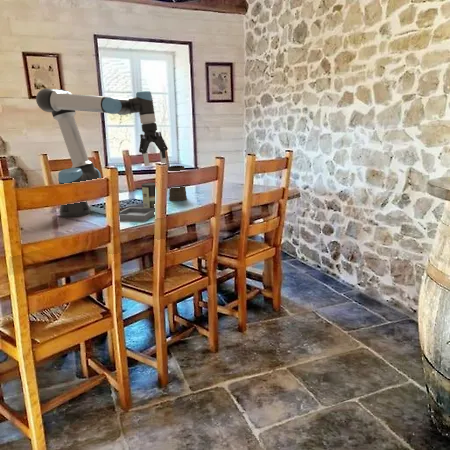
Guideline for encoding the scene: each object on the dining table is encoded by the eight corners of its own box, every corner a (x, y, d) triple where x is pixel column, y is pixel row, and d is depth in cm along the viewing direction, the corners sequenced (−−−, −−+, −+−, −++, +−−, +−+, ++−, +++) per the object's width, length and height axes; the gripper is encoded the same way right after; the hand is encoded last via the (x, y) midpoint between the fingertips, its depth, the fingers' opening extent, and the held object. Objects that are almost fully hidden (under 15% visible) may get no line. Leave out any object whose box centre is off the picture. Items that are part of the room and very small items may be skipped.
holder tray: (114, 220, 190) (113, 214, 189) (129, 212, 205) (128, 207, 204) (144, 221, 186) (144, 215, 186) (157, 213, 201) (157, 208, 201)
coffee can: (165, 207, 214) (163, 182, 211) (158, 212, 204) (156, 185, 201) (147, 207, 216) (145, 182, 213) (140, 211, 207) (138, 185, 203)
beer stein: (188, 200, 232) (186, 166, 227) (170, 201, 230) (168, 167, 224) (184, 196, 247) (182, 164, 241) (167, 197, 244) (165, 165, 239)
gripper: (170, 120, 192) (177, 163, 197) (139, 125, 208) (146, 165, 213) (158, 121, 186) (165, 165, 191) (127, 126, 203) (135, 167, 208)
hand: (155, 165), depth 202 cm, fingers open, 13 cm apart
